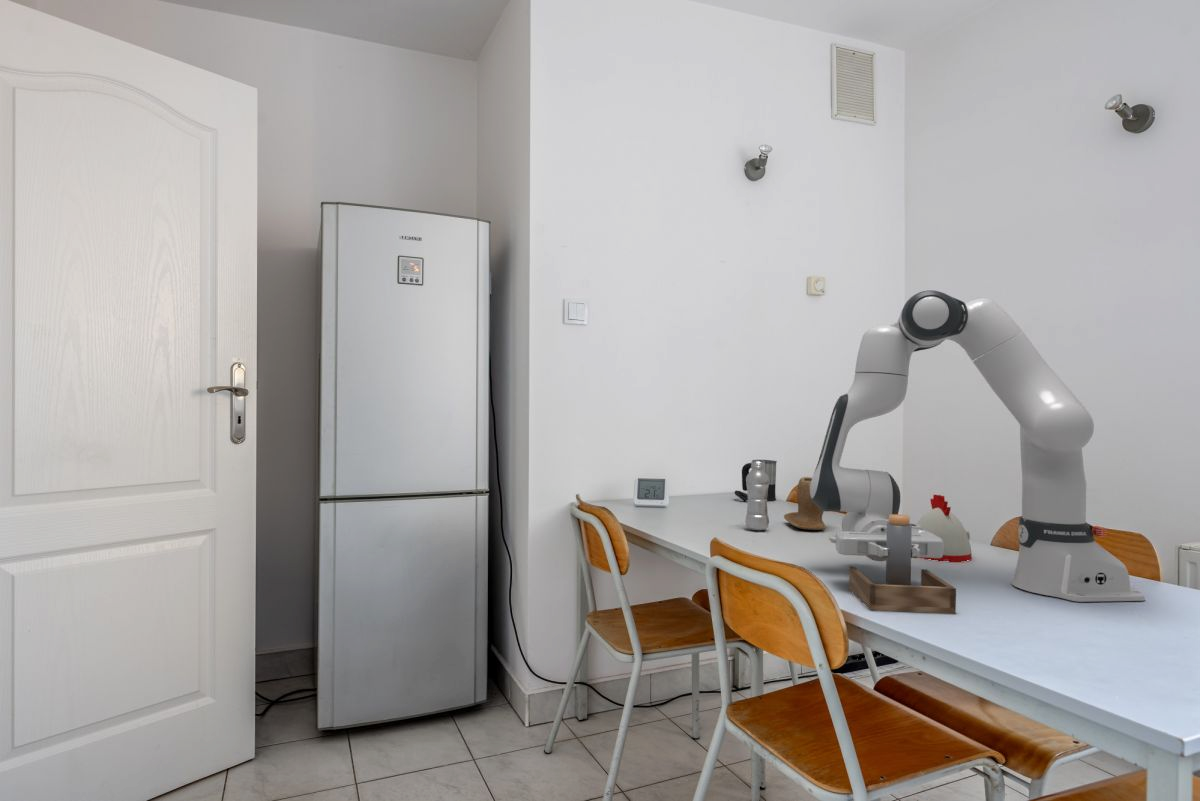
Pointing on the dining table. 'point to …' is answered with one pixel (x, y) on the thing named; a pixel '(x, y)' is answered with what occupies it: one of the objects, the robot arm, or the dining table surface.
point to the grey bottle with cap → (898, 550)
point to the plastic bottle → (757, 497)
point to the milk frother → (771, 473)
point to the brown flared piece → (806, 509)
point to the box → (905, 594)
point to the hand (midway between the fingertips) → (900, 553)
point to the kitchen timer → (947, 531)
